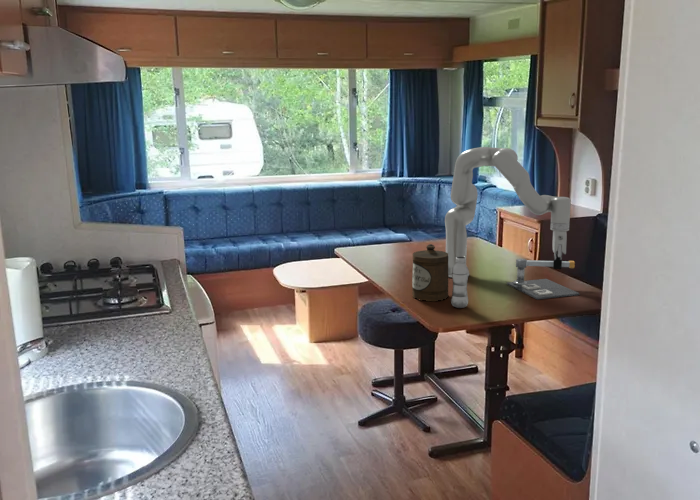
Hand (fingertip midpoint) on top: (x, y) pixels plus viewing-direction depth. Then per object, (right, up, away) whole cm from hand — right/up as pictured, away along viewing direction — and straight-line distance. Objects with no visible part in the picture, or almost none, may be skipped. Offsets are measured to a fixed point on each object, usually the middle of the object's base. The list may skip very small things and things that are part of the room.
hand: (557, 268), depth 273 cm
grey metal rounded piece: (-14, -7, +7) cm, 17 cm away
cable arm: (-4, 0, +4) cm, 6 cm away
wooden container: (-55, -12, -8) cm, 57 cm away
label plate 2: (-8, -11, -7) cm, 15 cm away
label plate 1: (-11, -9, +1) cm, 14 cm away
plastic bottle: (-46, -15, -22) cm, 53 cm away
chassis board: (-7, -9, 0) cm, 11 cm away
